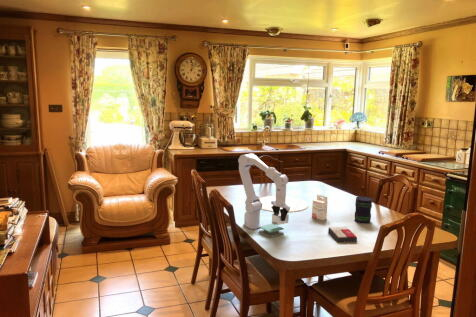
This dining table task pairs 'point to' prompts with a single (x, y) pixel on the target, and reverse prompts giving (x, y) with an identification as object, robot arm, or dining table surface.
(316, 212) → the ink cartridge box
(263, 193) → the dining table surface
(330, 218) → the dining table surface
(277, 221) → the block
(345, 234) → the calculator
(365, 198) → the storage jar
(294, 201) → the lazy susan
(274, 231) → the stand
